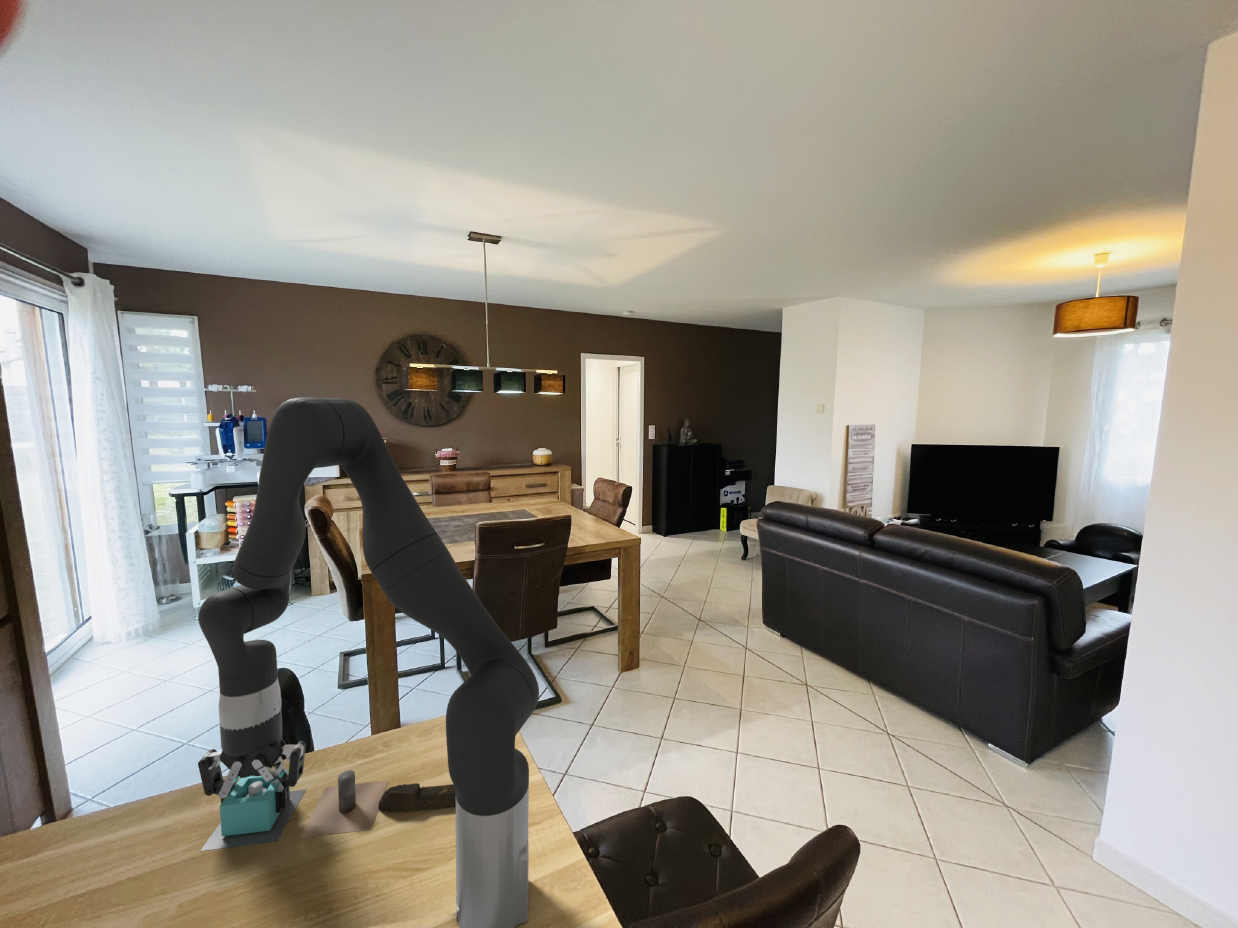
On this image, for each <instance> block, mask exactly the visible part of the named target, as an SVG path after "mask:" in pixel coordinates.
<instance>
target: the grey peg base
mask: <svg viewBox="0 0 1238 928" xmlns="http://www.w3.org/2000/svg"><path fill="white" fill-rule="evenodd" d="M266 790H267V789H266V788H263V783H262V782H261V781H257V782H254V783H252V784H251V785H250V786H249V787H248V794H247V795H246V796H245V797H251V796H260V795H264V793H265V792H266ZM306 791H307V789H297V790H290V799H289V801H288V803H287V805H286V807H285V808H283V810H282V812H281V813H280V814H279V816H278V818H277V819H276V821H275V823H274V824H273V826H272V828H271V829H270V831H262V832H254V833H246V834H238V835H229V836H222V832H221V822H220V823H219V824H218V826H217V827H216V828H215V830H214V831H213V832H212V834H211V835H210V836H209V838H208V839H207V841H206V842H205V843H204V845H203V846H202V848H201V849H200V850H199V851H200V852H204V851H206V852H207V851H212V850H220V849H229V848H237V847H244V846H252V845H259V844H265V843H266V844H268V843H275V842H276V843H277V842H278V840H279V839H280V837H281V835H282V834H283V832H284V830H285V828H286V826H287V825H288V823H289V821H290V820H291V818H292V816H293V814H294V813H295V811H296V809H297V807H298V805H299V804H300V801H302V798H303V796H305V793H306Z"/></svg>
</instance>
